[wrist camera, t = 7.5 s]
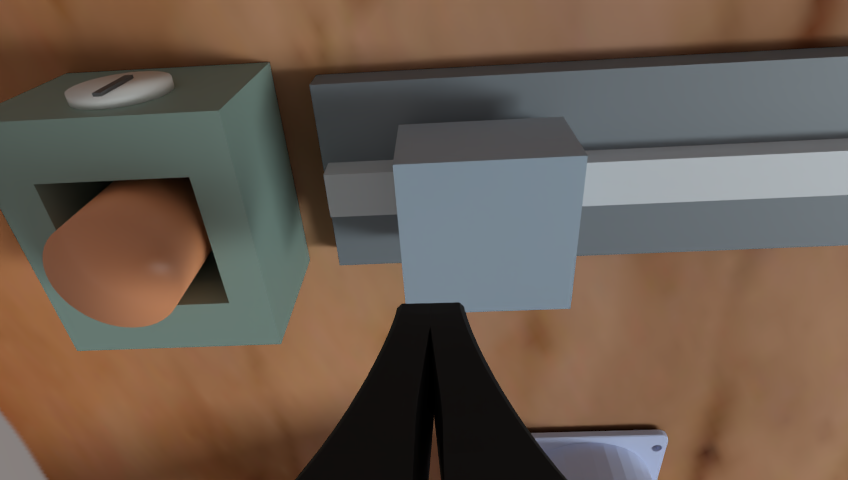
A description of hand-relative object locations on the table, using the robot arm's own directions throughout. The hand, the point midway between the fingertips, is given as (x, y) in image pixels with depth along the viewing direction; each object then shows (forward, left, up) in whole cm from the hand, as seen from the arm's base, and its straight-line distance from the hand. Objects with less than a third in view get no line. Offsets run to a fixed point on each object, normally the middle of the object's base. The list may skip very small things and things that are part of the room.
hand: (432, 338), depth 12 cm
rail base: (0, -6, -10) cm, 11 cm away
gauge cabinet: (0, +9, -10) cm, 13 cm away
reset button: (0, +9, -7) cm, 11 cm away
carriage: (0, -2, -8) cm, 8 cm away
